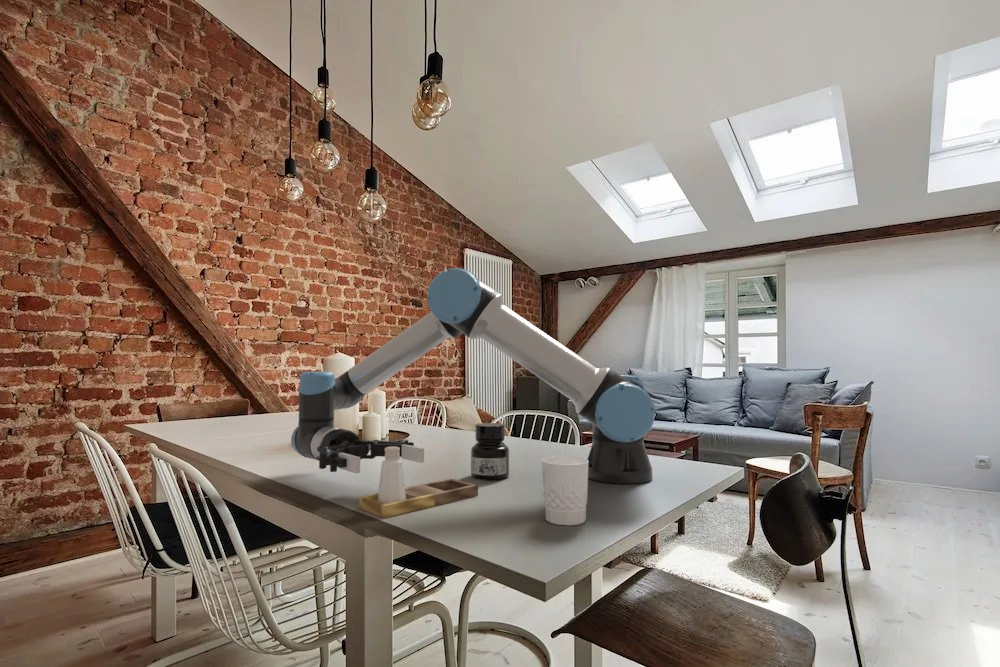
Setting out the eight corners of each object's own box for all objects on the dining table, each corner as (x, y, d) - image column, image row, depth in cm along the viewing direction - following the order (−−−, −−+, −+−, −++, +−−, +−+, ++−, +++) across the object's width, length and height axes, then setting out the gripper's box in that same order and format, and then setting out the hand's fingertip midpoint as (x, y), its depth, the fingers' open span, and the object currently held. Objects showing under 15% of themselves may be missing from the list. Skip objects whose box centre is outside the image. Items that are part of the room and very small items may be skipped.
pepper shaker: (395, 502, 100) (395, 443, 101) (412, 508, 96) (413, 447, 97) (370, 508, 96) (371, 447, 97) (387, 514, 93) (388, 450, 93)
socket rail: (451, 488, 111) (451, 478, 111) (478, 495, 105) (478, 485, 105) (359, 507, 96) (359, 496, 97) (384, 517, 90) (384, 506, 90)
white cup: (532, 520, 89) (532, 460, 89) (559, 510, 95) (558, 454, 95) (572, 530, 84) (572, 466, 84) (597, 519, 90) (597, 459, 90)
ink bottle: (464, 479, 119) (464, 426, 120) (474, 471, 128) (475, 421, 128) (506, 482, 117) (506, 427, 118) (514, 473, 126) (514, 422, 126)
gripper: (387, 456, 120) (445, 470, 105) (276, 473, 103) (327, 492, 87) (387, 423, 120) (445, 432, 105) (277, 434, 103) (327, 447, 88)
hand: (392, 460), depth 96 cm, fingers open, 13 cm apart
